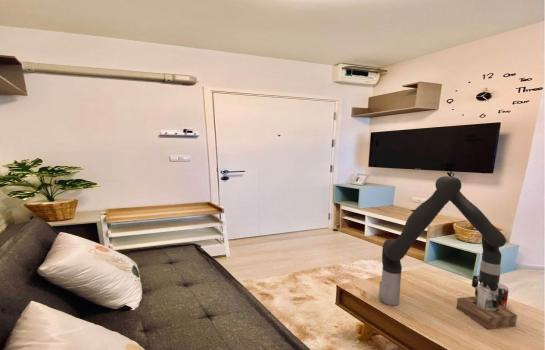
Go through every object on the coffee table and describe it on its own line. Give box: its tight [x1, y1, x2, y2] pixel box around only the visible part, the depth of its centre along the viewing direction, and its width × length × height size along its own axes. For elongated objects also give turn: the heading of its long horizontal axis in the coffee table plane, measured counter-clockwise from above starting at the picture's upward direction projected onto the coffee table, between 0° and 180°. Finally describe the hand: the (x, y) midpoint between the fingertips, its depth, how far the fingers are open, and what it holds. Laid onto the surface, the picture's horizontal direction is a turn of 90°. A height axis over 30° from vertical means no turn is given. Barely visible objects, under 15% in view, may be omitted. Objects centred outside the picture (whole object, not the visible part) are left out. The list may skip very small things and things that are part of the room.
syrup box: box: [476, 283, 498, 312], centre depth 126 cm, size 6×6×14 cm
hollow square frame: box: [456, 295, 518, 330], centre depth 126 cm, size 16×16×6 cm
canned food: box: [498, 282, 509, 309], centre depth 136 cm, size 8×8×11 cm
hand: (486, 302), depth 126 cm, fingers open, 8 cm apart
